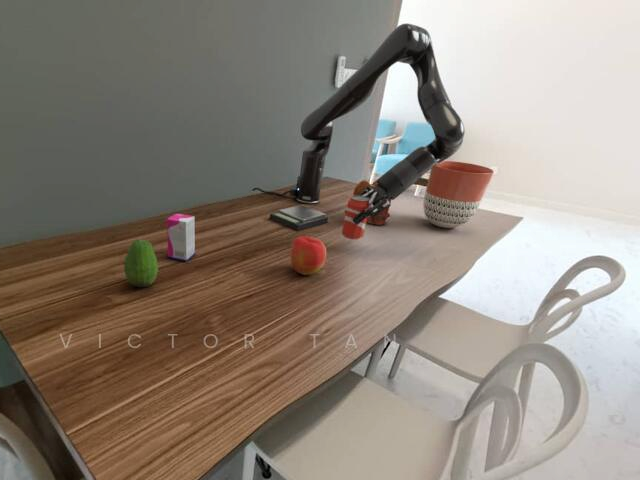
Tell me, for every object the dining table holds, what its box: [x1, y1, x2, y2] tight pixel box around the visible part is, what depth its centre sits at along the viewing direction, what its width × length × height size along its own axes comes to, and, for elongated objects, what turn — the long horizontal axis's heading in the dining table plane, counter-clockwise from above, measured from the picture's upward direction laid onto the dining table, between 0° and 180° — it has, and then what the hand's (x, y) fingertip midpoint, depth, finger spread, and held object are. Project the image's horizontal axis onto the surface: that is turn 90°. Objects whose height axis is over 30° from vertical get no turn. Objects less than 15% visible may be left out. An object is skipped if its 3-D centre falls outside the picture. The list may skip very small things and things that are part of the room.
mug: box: [352, 179, 392, 226], centre depth 142 cm, size 15×8×15 cm, turn 84°
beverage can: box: [341, 195, 369, 240], centre depth 117 cm, size 6×6×12 cm
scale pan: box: [278, 204, 326, 222], centre depth 143 cm, size 12×12×1 cm
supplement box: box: [166, 213, 196, 263], centre depth 108 cm, size 6×6×12 cm
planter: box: [422, 160, 495, 229], centre depth 142 cm, size 20×20×21 cm
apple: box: [290, 235, 327, 276], centre depth 104 cm, size 10×10×10 cm
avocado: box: [123, 238, 159, 288], centre depth 93 cm, size 8×8×12 cm
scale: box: [269, 211, 329, 232], centre depth 143 cm, size 14×16×2 cm
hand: (350, 218), depth 117 cm, fingers closed on beverage can, 6 cm apart
